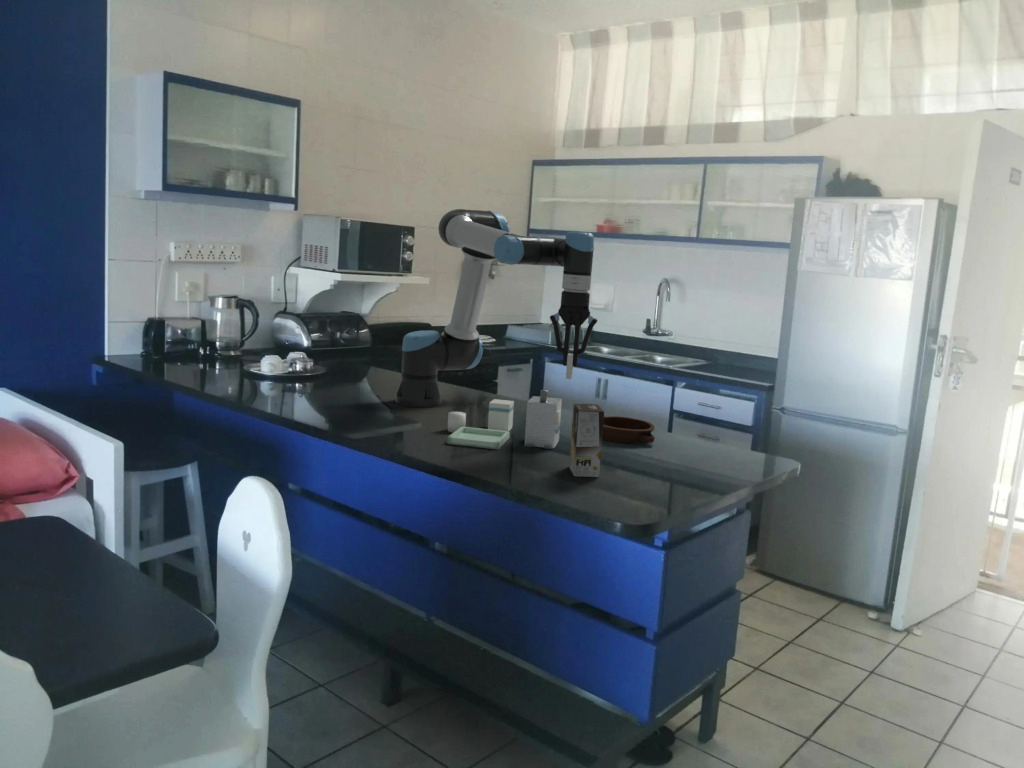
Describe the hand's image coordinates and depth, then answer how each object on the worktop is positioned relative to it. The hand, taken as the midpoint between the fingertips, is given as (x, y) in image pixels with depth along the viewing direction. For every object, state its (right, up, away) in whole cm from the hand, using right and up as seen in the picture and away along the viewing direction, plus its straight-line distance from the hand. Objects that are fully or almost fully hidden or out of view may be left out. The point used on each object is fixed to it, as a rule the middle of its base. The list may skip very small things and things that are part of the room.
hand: (569, 377), depth 225 cm
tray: (-24, -17, +1) cm, 30 cm away
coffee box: (+2, -23, -24) cm, 33 cm away
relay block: (-19, -15, +17) cm, 29 cm away
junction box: (-7, -18, +2) cm, 19 cm away
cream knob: (-31, -15, +11) cm, 37 cm away
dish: (+16, -18, +14) cm, 28 cm away
